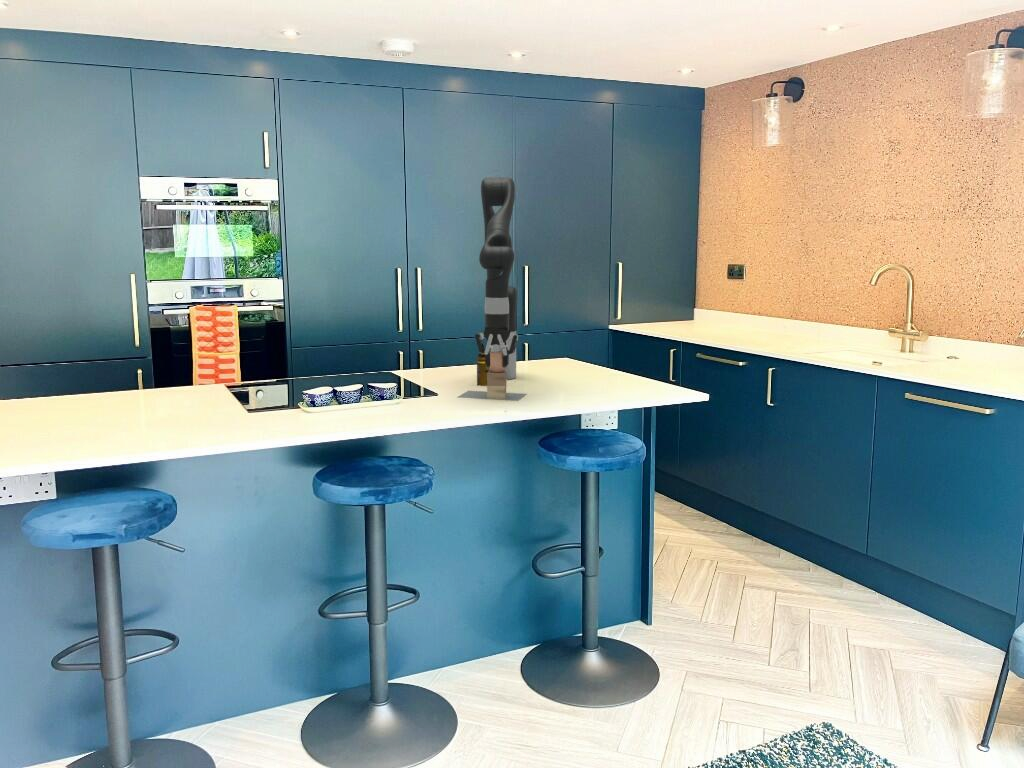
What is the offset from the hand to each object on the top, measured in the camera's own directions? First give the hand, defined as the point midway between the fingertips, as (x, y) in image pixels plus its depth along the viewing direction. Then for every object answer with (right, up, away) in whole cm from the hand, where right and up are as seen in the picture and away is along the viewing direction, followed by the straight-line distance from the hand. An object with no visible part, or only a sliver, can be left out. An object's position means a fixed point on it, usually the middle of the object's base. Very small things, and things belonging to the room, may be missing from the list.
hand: (496, 366), depth 261 cm
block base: (0, -10, +2) cm, 10 cm away
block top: (0, -6, +1) cm, 6 cm away
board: (-1, -10, +4) cm, 11 cm away
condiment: (-5, -7, +25) cm, 26 cm away
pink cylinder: (0, -1, 0) cm, 2 cm away
